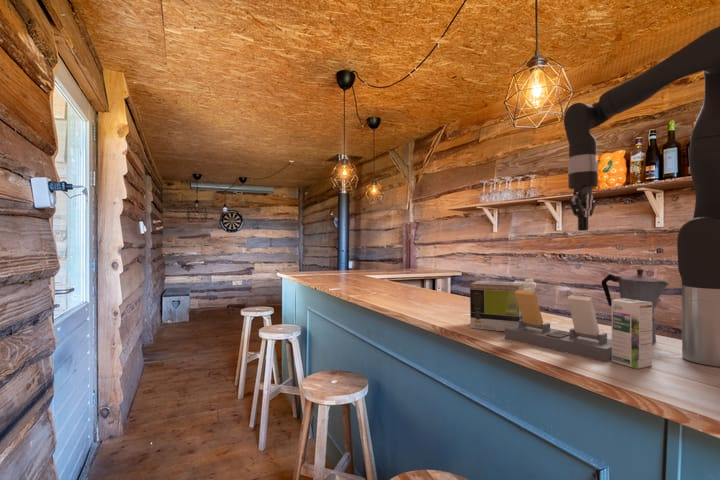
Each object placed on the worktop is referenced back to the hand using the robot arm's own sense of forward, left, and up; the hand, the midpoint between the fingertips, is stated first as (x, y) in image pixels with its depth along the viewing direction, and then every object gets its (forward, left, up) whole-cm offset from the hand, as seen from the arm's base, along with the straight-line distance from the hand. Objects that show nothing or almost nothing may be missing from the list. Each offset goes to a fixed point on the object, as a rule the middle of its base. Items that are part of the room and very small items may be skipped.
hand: (583, 230), depth 111 cm
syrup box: (-18, +19, -31) cm, 41 cm away
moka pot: (-11, -5, -31) cm, 33 cm away
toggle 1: (+6, +17, -27) cm, 32 cm away
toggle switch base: (-1, +17, -31) cm, 35 cm away
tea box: (+21, +12, -31) cm, 40 cm away
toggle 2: (-8, +17, -27) cm, 33 cm away
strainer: (+19, -1, -31) cm, 37 cm away
